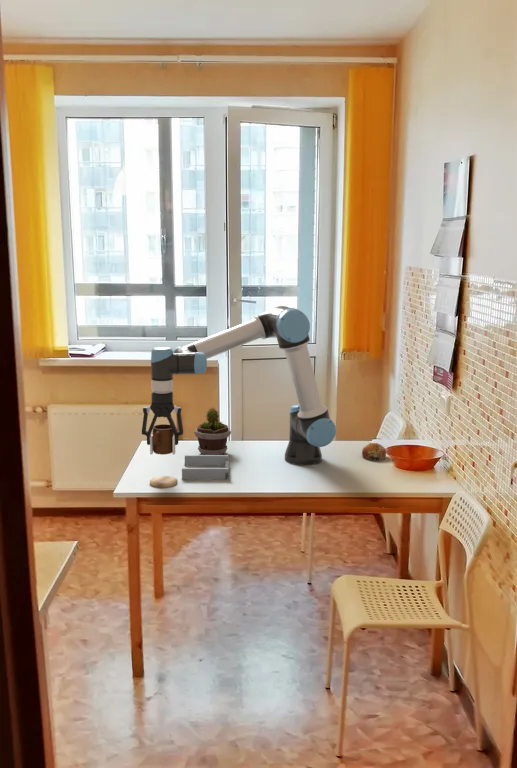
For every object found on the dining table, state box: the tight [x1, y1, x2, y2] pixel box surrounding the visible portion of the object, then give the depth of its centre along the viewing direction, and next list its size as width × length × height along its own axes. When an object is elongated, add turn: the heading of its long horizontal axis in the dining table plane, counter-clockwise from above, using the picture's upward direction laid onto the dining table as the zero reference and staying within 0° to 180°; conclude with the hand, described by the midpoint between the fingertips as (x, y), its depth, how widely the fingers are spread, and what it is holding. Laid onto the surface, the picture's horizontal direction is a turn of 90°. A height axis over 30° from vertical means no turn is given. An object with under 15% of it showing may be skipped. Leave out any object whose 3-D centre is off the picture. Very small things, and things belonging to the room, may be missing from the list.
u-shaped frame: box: [181, 454, 230, 480], centre depth 253 cm, size 17×17×4 cm
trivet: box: [149, 475, 178, 489], centre depth 240 cm, size 10×10×1 cm
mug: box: [152, 424, 174, 456], centre depth 238 cm, size 12×8×9 cm, turn 166°
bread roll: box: [361, 442, 387, 462], centre depth 274 cm, size 10×10×8 cm
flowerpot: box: [194, 406, 232, 455], centre depth 274 cm, size 14×15×20 cm
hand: (162, 453), depth 238 cm, fingers closed on mug, 7 cm apart
